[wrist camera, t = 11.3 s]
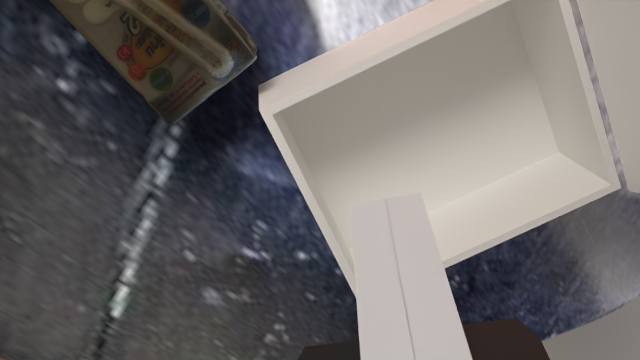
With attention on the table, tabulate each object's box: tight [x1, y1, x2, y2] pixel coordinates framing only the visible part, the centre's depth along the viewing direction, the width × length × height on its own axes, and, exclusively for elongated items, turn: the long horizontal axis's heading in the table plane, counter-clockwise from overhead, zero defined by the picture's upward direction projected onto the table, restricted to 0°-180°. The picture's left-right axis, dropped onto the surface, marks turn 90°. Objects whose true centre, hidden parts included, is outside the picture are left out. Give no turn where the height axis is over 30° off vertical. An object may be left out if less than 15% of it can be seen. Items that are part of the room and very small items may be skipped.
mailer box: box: [258, 0, 621, 297], centre depth 42 cm, size 20×16×8 cm
